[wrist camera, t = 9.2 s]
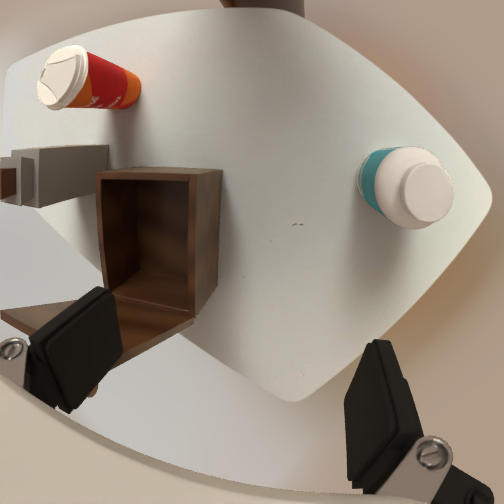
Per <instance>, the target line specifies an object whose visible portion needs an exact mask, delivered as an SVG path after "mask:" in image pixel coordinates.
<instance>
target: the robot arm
mask: <svg viewBox="0 0 504 504" xmlns="http://www.w3.org/2000/svg"><path fill="white" fill-rule="evenodd" d="M29 340H30V343H31V345H29V346H28V345H27V343H26V341H25V340H23V339H21V338H9V339H7V340H4V341H3V342H1V343H0V504H494V496H493V493H492V491H491V489H490V488H489V487H487V486H486V485H485V484H483V483H481V482H480V481H478V480H476V479H475V478H473V477H471V476H470V475H468V474H466V473H464V472H463V471H461V470H459V469H458V468H457V467H455V466H453V465H452V461H453V452H452V449H451V447H450V446H449V445H448V443H447V442H446V441H444V440H443V439H441V438H439V437H436V436H424V434H423V431H422V427H421V423H420V420H419V416H418V413H417V410H416V407H415V403H414V401H413V397H412V394H411V391H410V388H409V385H408V382H407V380H406V379H405V378H403V375H402V372H401V370H400V366H399V364H398V361H397V358H396V355H395V352H394V350H393V347H392V344H391V342H390V341H389V340H379V339H374V340H373V341H372V343H368V344H367V345H366V347H365V350H364V353H363V356H362V358H361V361H360V363H359V365H358V368H357V370H356V373H355V375H354V377H353V380H352V382H351V384H350V387H349V389H348V391H347V393H346V396H345V399H344V414H345V430H346V450H347V478H348V481H352V489H360V488H363V494H335V493H315V492H303V491H293V490H284V489H276V488H269V487H262V486H256V485H250V484H245V483H240V482H235V481H230V480H226V479H221V478H217V477H213V476H209V475H205V474H202V473H198V472H194V471H191V470H188V469H184V468H181V467H178V466H175V465H172V464H169V463H166V462H163V461H160V460H157V459H155V458H152V457H149V456H147V455H144V454H142V453H139V452H137V451H134V450H132V449H130V448H127V447H125V446H123V445H121V444H118V443H116V442H114V441H112V440H110V439H108V438H106V437H104V436H102V435H100V434H97V433H95V432H94V431H92V430H90V429H88V428H86V427H84V426H82V425H80V424H79V423H77V422H75V421H73V420H71V419H70V418H68V417H66V416H65V415H63V414H61V413H60V412H58V411H56V410H55V407H56V406H57V405H58V407H59V409H61V410H63V411H64V412H66V413H68V414H70V413H71V412H72V411H73V409H77V408H78V407H79V406H80V405H81V404H82V402H83V401H84V400H85V399H86V397H87V396H88V395H89V394H90V393H91V392H92V390H93V389H94V388H95V387H96V386H97V384H98V383H99V382H100V381H101V380H102V378H103V377H104V376H105V375H106V374H107V373H108V371H109V370H110V369H111V368H112V367H113V366H114V364H115V363H116V362H117V361H118V360H119V359H120V357H121V356H122V354H123V345H122V340H121V334H120V328H119V322H118V315H117V308H116V301H115V296H114V295H113V294H112V291H111V290H110V289H106V288H102V287H99V286H97V287H95V288H94V289H92V290H91V291H89V292H88V293H87V294H85V295H84V296H82V297H81V298H80V299H79V300H77V301H75V302H74V303H73V304H71V305H70V306H69V307H67V308H66V309H65V310H63V311H62V312H61V313H59V314H58V315H57V316H55V317H54V318H53V319H51V320H50V321H49V322H47V323H46V324H45V325H43V326H42V327H41V328H40V329H38V330H37V331H36V332H34V333H33V334H32V335H31V336H29Z"/></svg>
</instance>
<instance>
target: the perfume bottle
mask: <svg viewBox="0 0 504 504" xmlns="http://www.w3.org/2000/svg"><path fill="white" fill-rule="evenodd" d="M108 146H109V145H65V146H50V147H38V148H28V149H19V150H12V152H11V157H3V158H0V200H1V202H4V203H9V204H14V205H19V206H22V205H25V206H30V207H35V208H41V207H45V206H48V205H51V204H55V203H58V202H62V201H65V200H69V199H72V198H76V197H80V196H84V195H88V194H92V193H96V172H102V171H107V157H108Z"/></svg>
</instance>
